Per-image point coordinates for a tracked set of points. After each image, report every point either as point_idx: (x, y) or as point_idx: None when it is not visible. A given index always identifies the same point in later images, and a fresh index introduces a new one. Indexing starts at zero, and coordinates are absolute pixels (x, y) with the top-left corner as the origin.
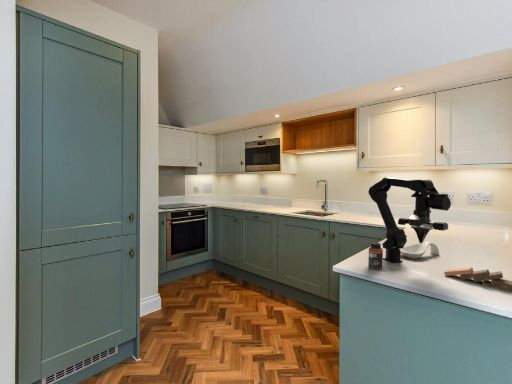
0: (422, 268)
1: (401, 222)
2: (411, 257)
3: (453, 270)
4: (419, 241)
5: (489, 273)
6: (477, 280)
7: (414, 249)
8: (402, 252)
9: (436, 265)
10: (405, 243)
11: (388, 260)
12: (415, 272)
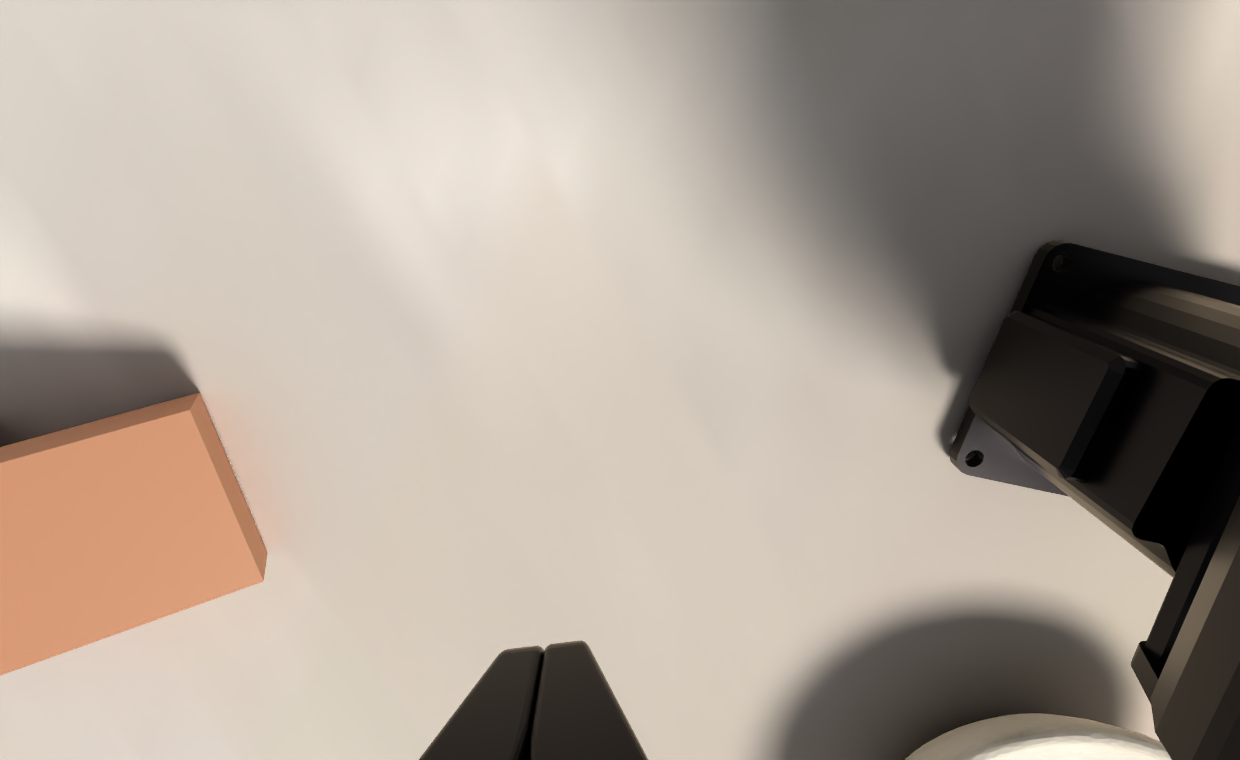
0: (590, 432)
1: None
2: (947, 732)
3: (71, 512)
4: (581, 670)
5: None
6: None
7: None
8: (1114, 728)
9: None
10: (1161, 724)
11: (1139, 262)
12: (515, 107)
